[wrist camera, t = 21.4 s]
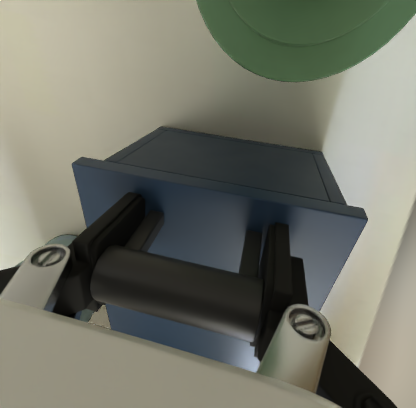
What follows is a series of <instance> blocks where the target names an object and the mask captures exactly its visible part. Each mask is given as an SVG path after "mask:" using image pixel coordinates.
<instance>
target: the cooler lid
mask: <svg viewBox="0 0 416 408" xmlns="http://www.w3.org/2000/svg"><path fill="white" fill-rule="evenodd" d="M72 168H73V172H74V176H75V180H76V184H77V189H78V193H79V197H80V201H81V205H82V209H83V214H84V218H85V222H86V226H87V228H88V227H89V226H90V225H91V224H92V223H93V222H95V221H96V220H97V219H98V218H99V217H100V216H101V215H103V214H104V213H105V212H106V211H107V210H108V209H109V208H111V207H112V206H113V205H114V204H115V203H116V202H117V201H118V200H120V199H121V198H122V197H123V196H124V195H125V194H126V193H128V192H132V193H137V194H141V195H142V198H144V199H145V216H146V217H145V218H144V220H143V221H142V222H141V224H140V225H139V227H138V228H137V229H136V231H135V232H134V234H133V235H132V236H131V238H130V239H129V240H128V242H127V243H126V245H125V246H124V247H123V246H119V245H112V246H109V247H108V248H107V249H106V250H105V251H104V252H103V253H102V254H101V256H100V257H99V259H98V261H97V263H96V265H95V268H94V270H93V273H92V277H91V284H90V291H91V295H92V297H93V298H94V299H95V300H96V301H100V302H104V303H107V304H106V309H107V313H108V317H109V321H110V326H111V330H115V331H118V332H121V333H125V334H128V335H132V336H135V337H138V338H142V339H145V340H149V341H152V342H155V343H159V344H162V345H166V346H169V347H172V348H176V349H179V350H182V351H186V352H189V353H192V354H196V355H199V356H202V357H206V358H209V359H212V360H216V361H219V362H222V363H226V364H229V365H232V366H236V367H239V368H242V369H245V370H248V371H251V372H255V373H256V371H257V369H258V367H259V365H260V361H259V360H258V359H257V357H254V351H255V347H253V346H250V342H253V341H254V340H255V338H256V335H257V331H258V327H259V322H260V317H261V311H262V304H263V295H264V281H263V279H261V278H258V272H259V264H260V260H261V256H262V252H263V249H264V245H265V241H266V237H267V233H268V229H269V226H270V224H271V225H275V222H278V223H282V224H287V225H289V238H290V254H291V256H293V257H298V258H302V259H303V263H304V272H305V280H306V288H307V296H308V304H309V306H310V307H312V308H314V309H316V310H317V311H320V309H321V307H322V306H323V304H324V302H325V300H326V298H327V296H328V294H329V292H330V291H331V289H332V287H333V285H334V283H335V281H336V279H337V277H338V275H339V274H340V272H341V270H342V268H343V266H344V264H345V262H346V260H347V259H348V257H349V255H350V253H351V251H352V249H353V247H354V245H355V244H356V242H357V240H358V238H359V236H360V234H361V232H362V230H363V229H364V227H365V225H366V223H367V221H368V218H367V216H366V213H365V211H364V209H363V208H359V207H353V206H348V205H342V204H337V203H331V202H326V201H320V200H315V199H309V198H304V197H299V196H293V195H288V194H282V193H277V192H271V191H266V190H260V189H255V188H249V187H244V186H238V185H233V184H228V183H222V182H217V181H211V180H206V179H200V178H195V177H189V176H184V175H178V174H173V173H167V172H162V171H157V170H151V169H146V168H140V167H135V166H129V165H124V164H118V163H113V162H107V161H102V160H96V159H91V158H86V157H81V158H79V159H78V160H76V161H75V162H73V163H72Z"/></svg>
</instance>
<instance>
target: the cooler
mask: <svg viewBox="0 0 416 408" xmlns="http://www.w3.org/2000/svg"><path fill="white" fill-rule="evenodd" d="M104 161H107V162H113V163H118V164H124V165H129V166H135V167H140V168H146V169H151V170H157V171H162V172H167V173H173V174H178V175H184V176H189V177H195V178H200V179H206V180H211V181H217V182H222V183H228V184H233V185H238V186H244V187H249V188H255V189H260V190H266V191H271V192H277V193H282V194H288V195H293V196H299V197H304V198H309V199H315V200H320V201H326V202H331V203H337V204H342V205H347V204H346V202H345V200H344V197H343V195H342V193H341V191H340V189H339V187H338V185H337V183H336V181H335V179H334V176H333V174H332V172H331V170H330V168H329V166H328V164H327V162H326V160H325V158H324V156H323V153H322V152H320V151H313V150H307V149H301V148H294V147H288V146H282V145H275V144H269V143H262V142H256V141H250V140H243V139H237V138H231V137H224V136H218V135H211V134H205V133H199V132H192V131H186V130H180V129H173V128H167V127H159V128H158V129H156V130H155V131H153V132H151V133H150V134H148V135H146V136H144V137H143V138H141V139H139V140H138V141H136V142H134V143H133V144H131V145H129V146H128V147H126V148H124V149H122V150H121V151H119V152H117V153H116V154H114V155H112V156H111V157H109V158H107V159H106V160H104Z"/></svg>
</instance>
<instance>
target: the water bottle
mask: <svg viewBox="0 0 416 408" xmlns="http://www.w3.org/2000/svg"><path fill="white" fill-rule="evenodd" d="M196 1H197V4H198V7H199V10H200V13H201V15H202V17H203V19H204V22H205V24H206V26H207V28H208V29H209V31H210V33H211V34H212V36H213V38H214V39H215V40H216V42H217V43H218V44H219V46H220V47H221V48H222V49H223V51H224V52H226V53H227V54H228V55H229V56H230V57H231V58H232V59H233V60H234V61H235V62H237V63H238V64H239V65H241V66H242V67H243V68H245V69H247V70H249V71H251V72H253V73H255V74H257V75H259V76H262V77H265V78H268V79H272V80H277V81H283V82H304V81H313V80H317V79H322V78H326V77H329V76H332V75H335V74H337V73H340V72H342V71H345V70H347V69H349V68H351V67H353V66H355V65H357V64H358V63H360V62H362V61H363V60H365V59H366V58H368V57H369V56H371V55H373V54H374V53H375V52H376V51H378V50H379V49H380V48H381V47H383V46H384V45H385V44H387V43H388V42H389V41H390V40H391V39H392V38H393V37H394V36H395V35H396V34H397V33H398V32H399V31H400V30H401V29H402V28H403V27H404V26H405V25H406V24H407V23H408V22H409V20H410V19H411V18H412V17H413V16H414V15H415V13H416V0H196Z"/></svg>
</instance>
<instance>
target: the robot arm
mask: <svg viewBox="0 0 416 408" xmlns="http://www.w3.org/2000/svg"><path fill="white" fill-rule="evenodd" d="M145 217H146V216H145V199H144V198H142V195H141V194H137V193H132V192H128V193H126V194H125V195H124V196H123V197H122V198H121V199H120V200H118V201H117V202H116V203H115V204H114V205H113V206H112V207H111V208H109V209H108V210H107V211H106V212H105V213H104V214H103V215H101V216H100V217H99V218H98V219H97V220H96V221H95V222H93V223H92V224H91V225H90V226H89V227H88V228H87V229H85V230H84V231H83V232H82V233H81V234H80V235H79V236H77V237H76V238H75V239H74V240H73V241H72V243H71V244H70V245H69V246H65V245H62V244H49V245H45V246H42V247H39V248H37V249H35V250H34V251H32V252H31V253H30V254H29V255H28V256H27V257H26V259H25V260H24V262H23V263H22V264H21V265H20V266H16V267H12V268H8V269H4V270H0V408H397V407H396V406H395V404H394V403H393V402H392V401H391V400H390V399H389V398H388V397H387V396H386V395H385V394H384V393H383V392H382V391H381V390H380V389H379V388H378V387H377V386H376V385H375V384H374V383H373V382H372V381H371V380H369V378H367V376H366V375H364V374H363V373H362V372H361V371H360V370H359V369H358V368H357V367H356V366H355V365H354V364H353V363H352V362H351V361H350V360H349V359H348V358H347V357H346V356H345V355H344V354H343V353H342V352H341V351H340V350H339V349H338V348H337V347H336V346H335V345H334V344H333V343H332V342H331V341H330V336H331V328H330V325H329V323H328V321H327V320H326V318H325V317H324V316H323V315H322V314H321V313H320V312H319V311H317V310H316V309H314V308H312V307H310V306H309V304H308V296H307V288H306V280H305V272H304V263H303V259H302V258H298V257H293V256H291V254H290V238H289V225H287V224H282V223H278V222H275V225H271V224H270V226H269V229H268V233H267V237H266V241H265V245H264V249H263V252H262V256H261V260H260V264H259V272H258V278H261V279H263V281H264V295H263V304H262V311H261V317H260V322H259V327H258V331H257V335H256V338H255V340H254V341H253V342H250V346H253V347H255V351H254V357H257V359H258V360H259V361H260V365H259V367H258V369H257V371H256V373H255V372H251V371H248V370H245V369H242V368H239V367H236V366H232V365H229V364H226V363H222V362H219V361H216V360H212V359H209V358H206V357H202V356H199V355H196V354H192V353H189V352H186V351H182V350H179V349H176V348H172V347H169V346H166V345H162V344H159V343H155V342H152V341H149V340H145V339H142V338H138V337H135V336H132V335H128V334H125V333H121V332H118V331H115V330H111V329H108V328H104V327H101V326H97V325H94V324H91V323H87V322H84V321H80V320H79V319H80V317H81V313H82V310H85V309H88V310H92V311H95V312H97V311H98V310H99V309H100V307H101V306H102V305H106V304H107V303H104V302H100V301H96V300H95V299H94V298H93V297H92V295H91V291H90V284H91V277H92V273H93V270H94V268H95V265H96V263H97V261H98V259H99V257H100V256H101V254H102V253H103V252H104V251H105V250H106V249H107V248H108V247H109V246H112V245H119V246H123V247H124V246H125V245H126V243H127V242H128V240H129V239H130V238H131V236H132V235H133V234H134V232H135V231H136V229H137V228H138V227H139V225H140V224H141V222H142V221H143V220H144V218H145Z"/></svg>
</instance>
